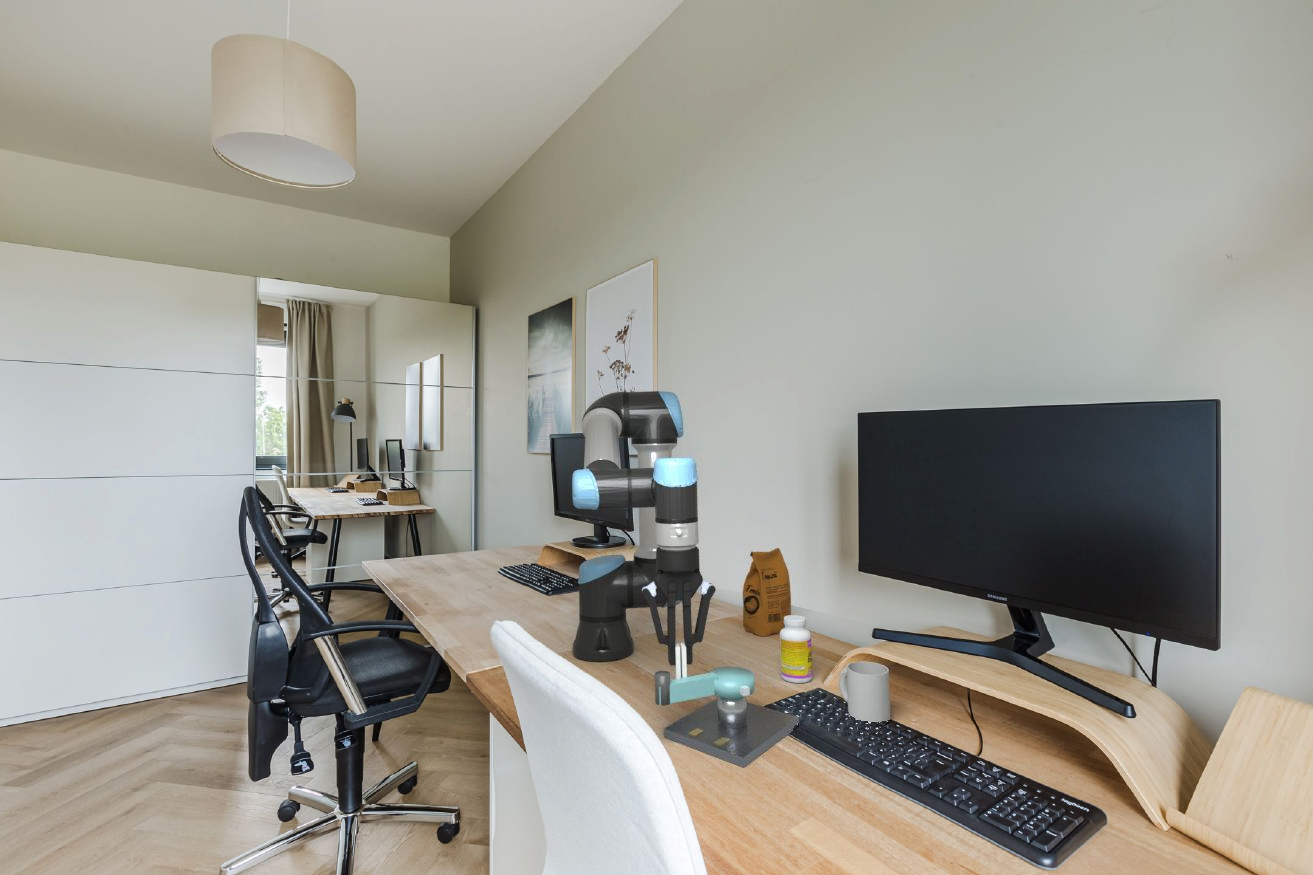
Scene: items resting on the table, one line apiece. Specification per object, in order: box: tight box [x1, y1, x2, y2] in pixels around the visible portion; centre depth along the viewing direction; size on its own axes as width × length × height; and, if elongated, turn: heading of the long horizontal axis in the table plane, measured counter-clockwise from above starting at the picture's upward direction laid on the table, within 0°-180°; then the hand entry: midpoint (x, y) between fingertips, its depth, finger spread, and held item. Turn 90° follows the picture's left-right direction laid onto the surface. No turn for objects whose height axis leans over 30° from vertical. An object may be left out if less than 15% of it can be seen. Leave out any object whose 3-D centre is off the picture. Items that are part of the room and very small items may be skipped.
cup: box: [838, 660, 891, 723], centre depth 107 cm, size 7×10×9 cm
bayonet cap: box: [654, 666, 756, 707], centre depth 100 cm, size 18×10×5 cm, turn 113°
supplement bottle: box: [779, 614, 813, 684], centre depth 126 cm, size 7×7×13 cm
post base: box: [663, 696, 800, 768], centre depth 102 cm, size 16×18×7 cm
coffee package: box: [742, 547, 792, 638], centre depth 162 cm, size 10×12×22 cm
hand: (681, 682), depth 102 cm, fingers closed
